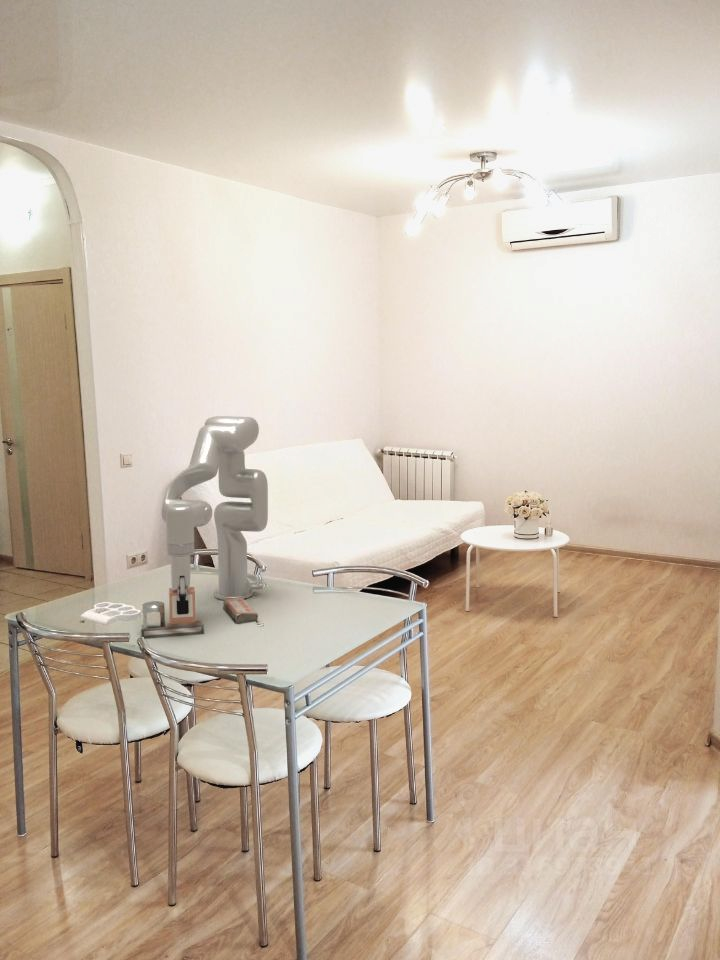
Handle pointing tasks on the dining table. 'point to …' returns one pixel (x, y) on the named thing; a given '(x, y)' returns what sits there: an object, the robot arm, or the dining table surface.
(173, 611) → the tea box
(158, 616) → the tin
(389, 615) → the dining table surface
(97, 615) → the knuckle duster
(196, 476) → the robot arm
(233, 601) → the packaged product
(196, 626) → the shelf board
